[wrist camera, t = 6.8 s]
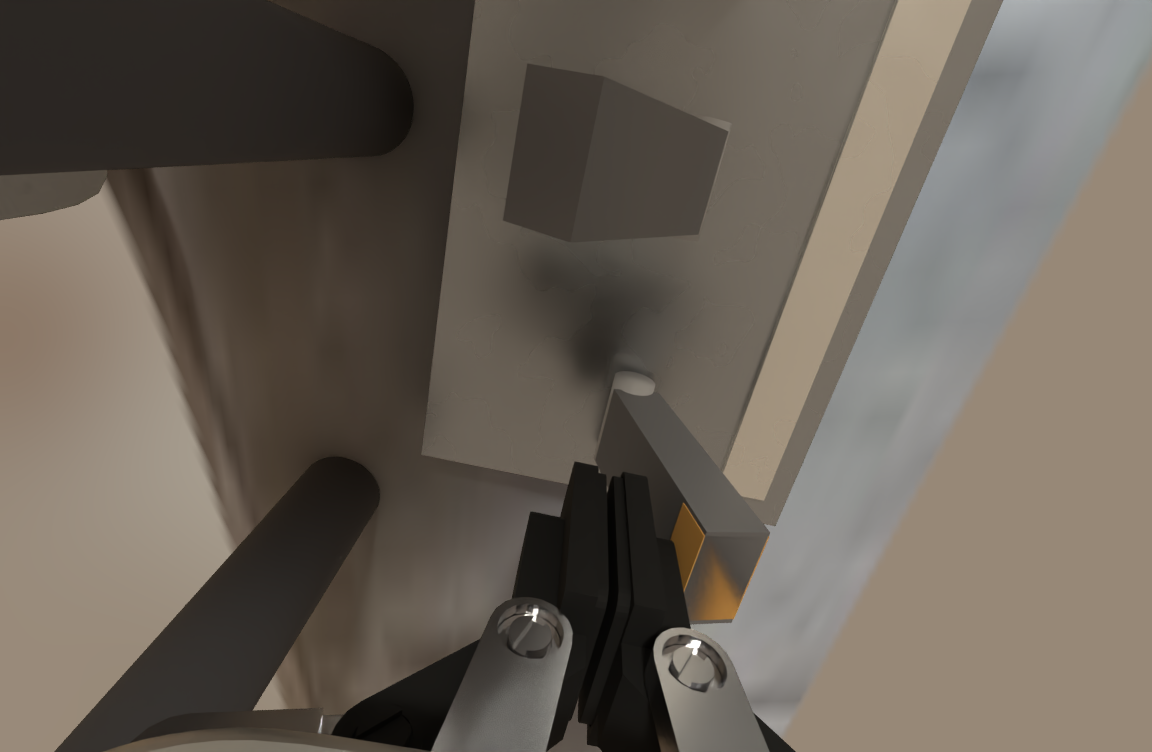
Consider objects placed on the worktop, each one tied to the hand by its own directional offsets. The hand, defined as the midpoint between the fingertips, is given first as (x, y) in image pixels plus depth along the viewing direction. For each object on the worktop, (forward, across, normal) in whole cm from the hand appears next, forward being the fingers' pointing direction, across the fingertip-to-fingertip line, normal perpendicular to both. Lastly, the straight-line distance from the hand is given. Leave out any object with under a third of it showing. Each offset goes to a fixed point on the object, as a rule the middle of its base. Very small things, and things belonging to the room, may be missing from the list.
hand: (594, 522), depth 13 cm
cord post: (+8, +9, +7) cm, 13 cm away
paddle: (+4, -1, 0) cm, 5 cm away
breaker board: (+8, -1, -8) cm, 11 cm away
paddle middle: (+4, -1, -8) cm, 9 cm away
